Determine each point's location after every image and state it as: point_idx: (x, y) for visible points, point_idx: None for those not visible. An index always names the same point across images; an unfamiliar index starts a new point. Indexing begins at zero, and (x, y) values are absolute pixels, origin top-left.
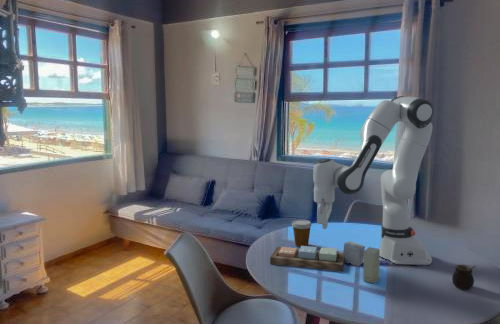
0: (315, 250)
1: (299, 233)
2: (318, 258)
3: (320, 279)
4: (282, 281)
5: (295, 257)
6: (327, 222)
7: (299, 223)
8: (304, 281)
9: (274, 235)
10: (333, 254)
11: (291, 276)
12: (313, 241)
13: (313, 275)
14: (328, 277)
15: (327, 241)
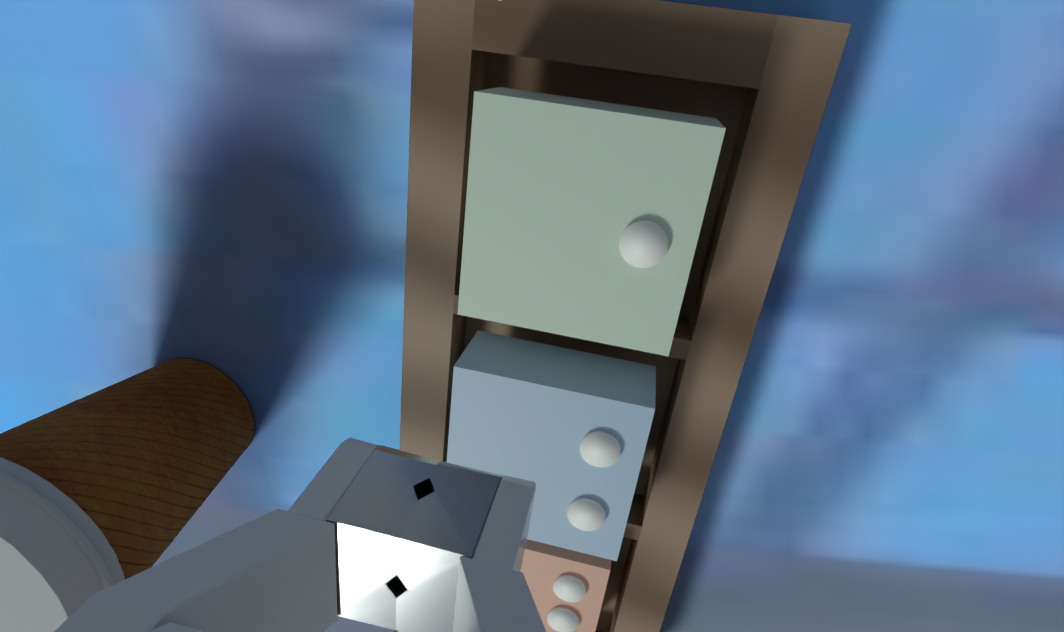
0: (562, 387)
1: (163, 532)
2: None
3: (1029, 299)
4: (1013, 608)
5: (625, 534)
6: (296, 532)
7: (13, 608)
8: (1051, 449)
9: None
10: (712, 163)
11: (911, 539)
12: (70, 303)
13: (910, 360)
14: (987, 210)
15: (8, 166)
